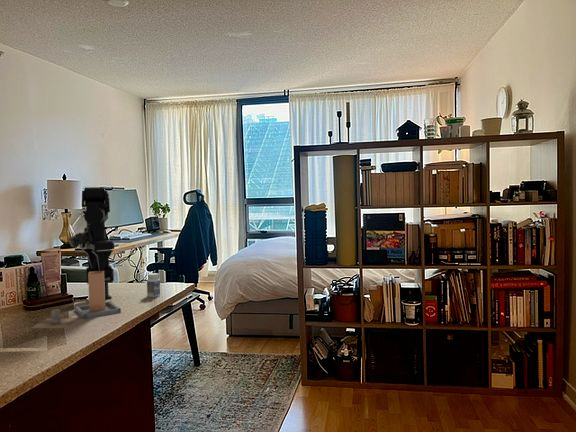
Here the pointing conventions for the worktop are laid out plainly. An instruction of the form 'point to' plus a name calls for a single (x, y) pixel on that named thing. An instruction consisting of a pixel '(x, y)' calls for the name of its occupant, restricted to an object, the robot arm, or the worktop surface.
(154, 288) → the pill bottle
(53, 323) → the peg on square base
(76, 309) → the tray
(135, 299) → the worktop surface
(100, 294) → the tan rectangular prism
